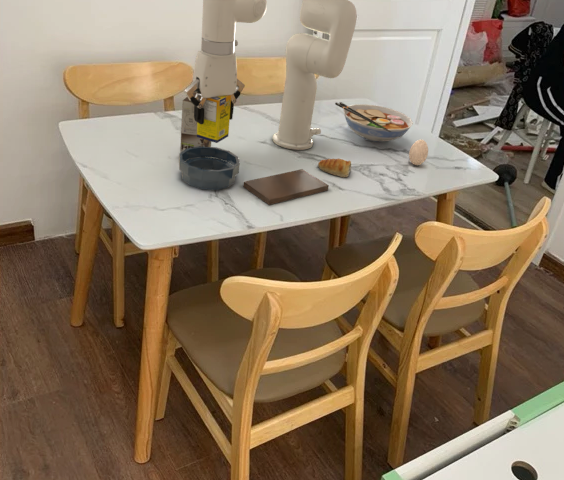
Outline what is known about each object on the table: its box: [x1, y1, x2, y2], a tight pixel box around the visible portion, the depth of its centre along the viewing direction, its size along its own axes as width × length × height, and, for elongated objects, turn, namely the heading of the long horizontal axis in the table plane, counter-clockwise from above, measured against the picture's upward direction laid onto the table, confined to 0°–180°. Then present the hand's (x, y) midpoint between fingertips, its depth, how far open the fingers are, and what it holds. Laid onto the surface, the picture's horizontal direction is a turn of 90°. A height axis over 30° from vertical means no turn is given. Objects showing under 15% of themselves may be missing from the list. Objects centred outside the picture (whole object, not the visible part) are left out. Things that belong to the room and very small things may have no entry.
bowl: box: [178, 146, 241, 191], centre depth 156 cm, size 15×15×6 cm
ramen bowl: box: [334, 101, 414, 143], centre depth 197 cm, size 25×23×8 cm
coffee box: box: [179, 92, 212, 159], centre depth 165 cm, size 9×6×16 cm
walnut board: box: [242, 168, 330, 206], centre depth 158 cm, size 20×11×2 cm, turn 129°
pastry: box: [317, 158, 352, 178], centre depth 171 cm, size 9×7×4 cm
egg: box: [408, 139, 429, 166], centre depth 182 cm, size 6×6×8 cm
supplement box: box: [197, 95, 231, 144], centre depth 149 cm, size 6×6×11 cm
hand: (213, 119), depth 149 cm, fingers closed on supplement box, 7 cm apart
